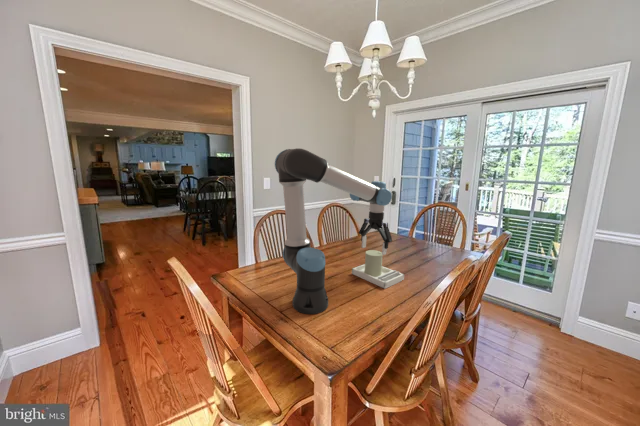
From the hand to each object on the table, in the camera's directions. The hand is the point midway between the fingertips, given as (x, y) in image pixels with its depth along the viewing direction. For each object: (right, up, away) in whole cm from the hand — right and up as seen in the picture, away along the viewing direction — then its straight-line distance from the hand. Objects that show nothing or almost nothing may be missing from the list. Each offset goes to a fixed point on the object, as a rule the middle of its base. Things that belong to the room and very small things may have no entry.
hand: (373, 250), depth 139 cm
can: (0, -13, +3) cm, 13 cm away
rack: (+2, -14, +1) cm, 14 cm away
